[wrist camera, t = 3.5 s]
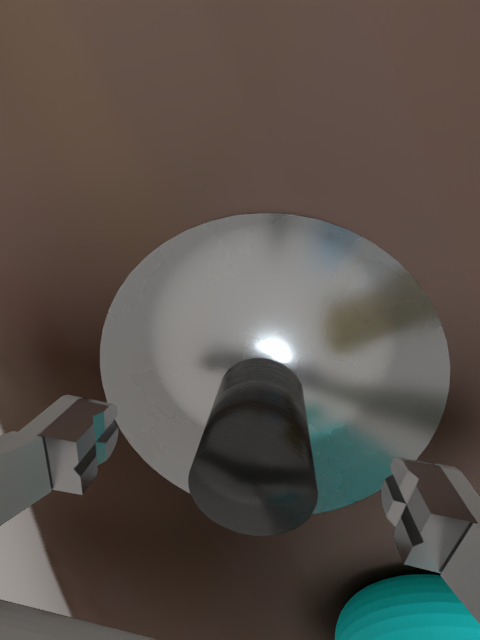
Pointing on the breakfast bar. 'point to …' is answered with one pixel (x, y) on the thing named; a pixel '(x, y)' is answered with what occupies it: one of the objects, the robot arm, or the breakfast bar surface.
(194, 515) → the breakfast bar surface
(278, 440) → the steel lid
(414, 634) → the donuts
